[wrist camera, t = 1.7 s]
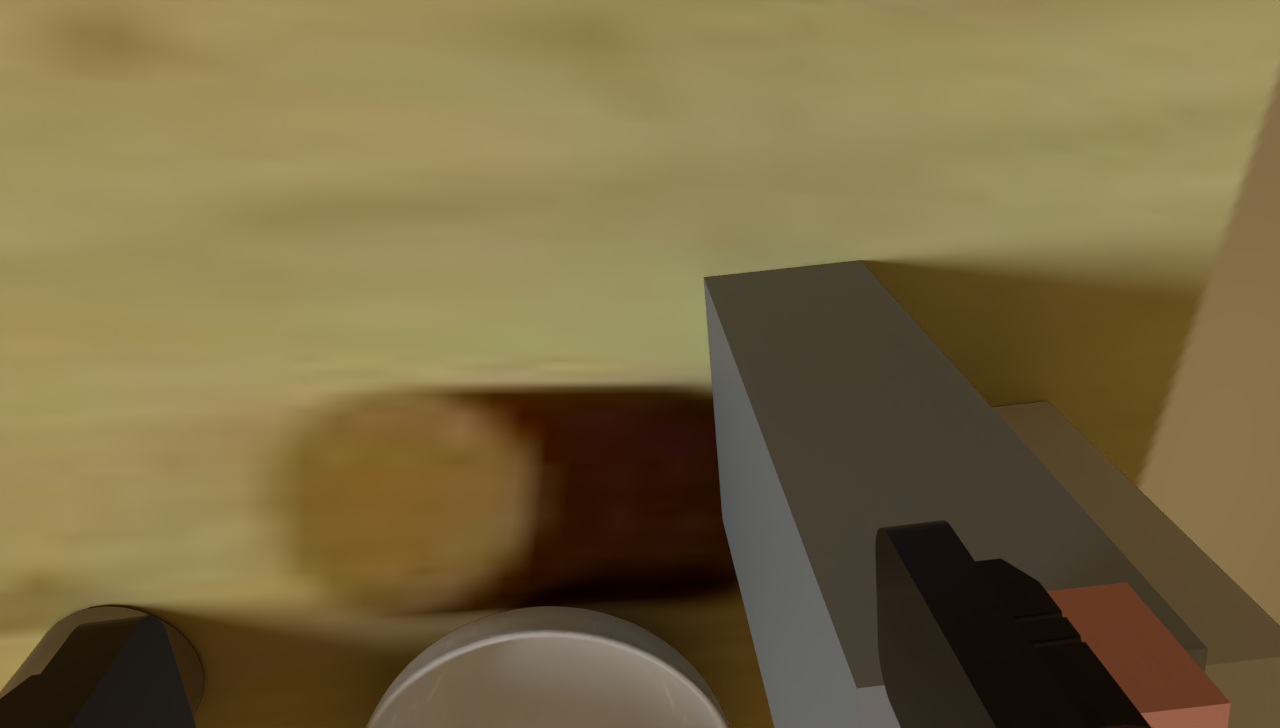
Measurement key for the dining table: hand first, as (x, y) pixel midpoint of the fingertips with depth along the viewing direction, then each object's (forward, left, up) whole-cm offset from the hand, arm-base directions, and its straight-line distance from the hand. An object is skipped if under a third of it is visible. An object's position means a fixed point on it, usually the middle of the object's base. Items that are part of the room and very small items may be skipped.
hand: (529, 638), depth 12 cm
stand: (-6, -25, -41) cm, 48 cm away
